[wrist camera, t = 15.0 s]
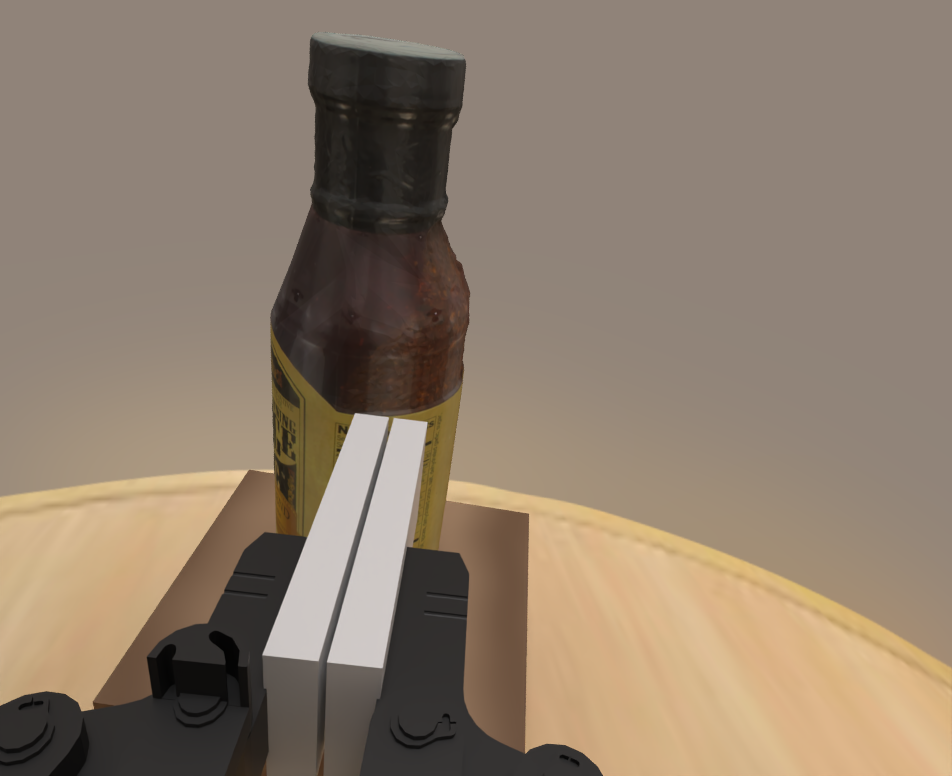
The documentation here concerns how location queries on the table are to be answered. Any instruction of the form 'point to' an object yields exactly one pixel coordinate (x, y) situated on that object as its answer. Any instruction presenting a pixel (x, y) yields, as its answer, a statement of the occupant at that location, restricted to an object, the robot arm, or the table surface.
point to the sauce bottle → (371, 274)
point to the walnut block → (463, 531)
